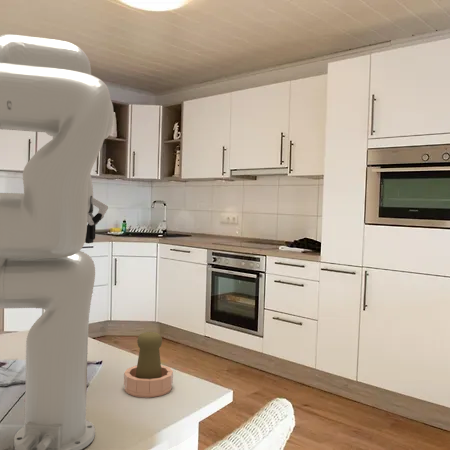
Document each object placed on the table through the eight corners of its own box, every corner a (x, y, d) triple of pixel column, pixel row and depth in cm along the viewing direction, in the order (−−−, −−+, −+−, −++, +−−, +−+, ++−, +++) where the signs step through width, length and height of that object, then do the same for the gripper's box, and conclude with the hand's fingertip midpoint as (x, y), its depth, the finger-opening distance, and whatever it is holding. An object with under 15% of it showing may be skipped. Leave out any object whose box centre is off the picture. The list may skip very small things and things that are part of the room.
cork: (128, 385, 100) (129, 333, 100) (145, 376, 106) (147, 327, 105) (151, 391, 97) (153, 338, 97) (168, 382, 103) (169, 332, 102)
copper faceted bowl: (166, 399, 96) (167, 382, 96) (118, 395, 97) (119, 379, 97) (175, 381, 106) (176, 365, 106) (131, 378, 107) (132, 363, 107)
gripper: (23, 162, 102) (22, 241, 103) (102, 164, 101) (100, 245, 102) (39, 165, 110) (38, 239, 110) (113, 167, 108) (111, 242, 109)
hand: (68, 241), depth 106 cm, fingers open, 9 cm apart
